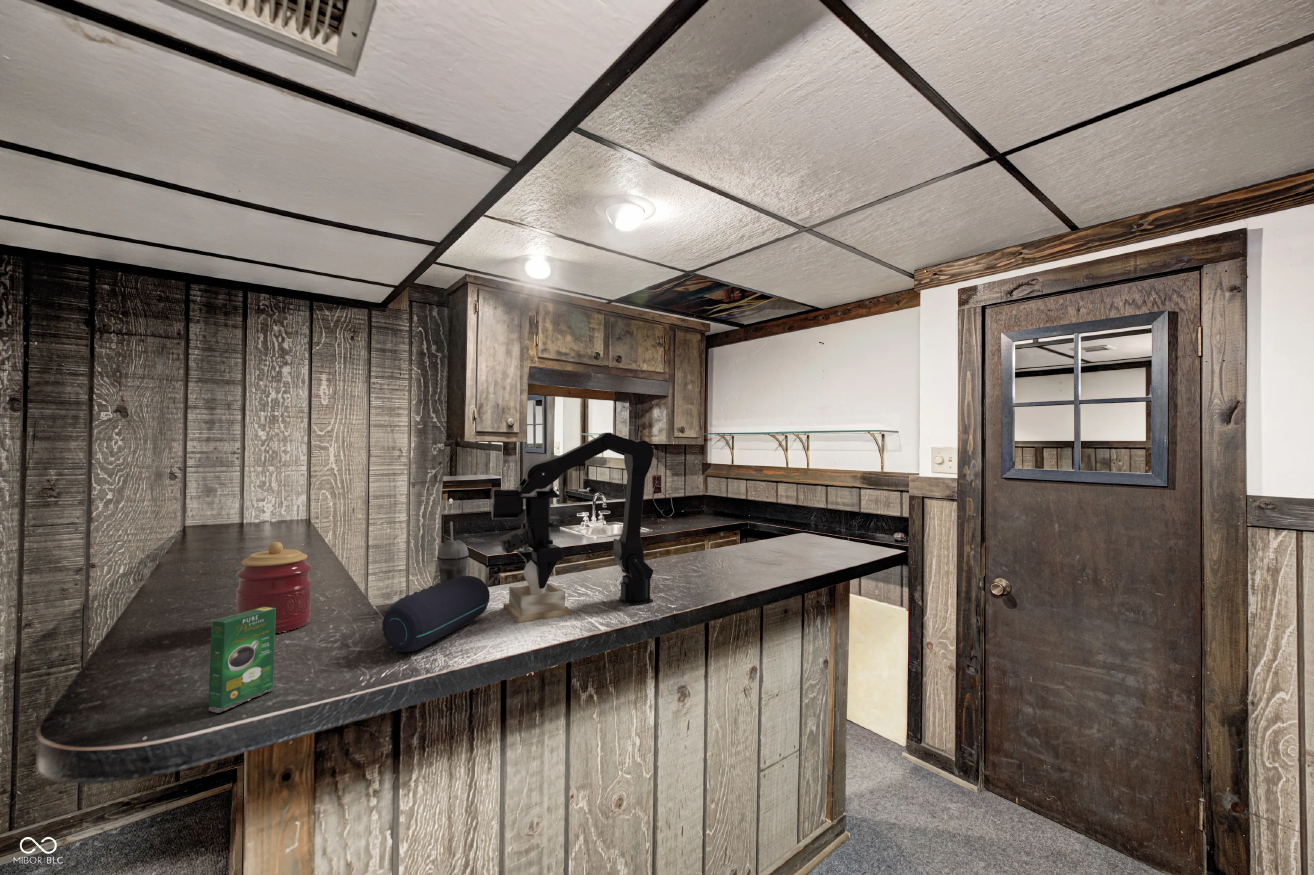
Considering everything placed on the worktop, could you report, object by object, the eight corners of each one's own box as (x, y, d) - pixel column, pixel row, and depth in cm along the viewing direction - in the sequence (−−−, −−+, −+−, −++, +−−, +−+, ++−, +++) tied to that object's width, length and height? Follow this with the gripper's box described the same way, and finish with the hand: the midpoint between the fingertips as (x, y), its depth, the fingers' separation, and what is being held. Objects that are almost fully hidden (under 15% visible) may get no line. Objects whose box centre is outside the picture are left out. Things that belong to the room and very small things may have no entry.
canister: (324, 622, 117) (326, 539, 117) (259, 642, 105) (260, 550, 105) (287, 613, 122) (288, 534, 122) (220, 631, 110) (222, 544, 111)
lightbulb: (556, 605, 127) (556, 557, 127) (538, 612, 122) (538, 562, 122) (536, 601, 130) (536, 555, 130) (518, 607, 125) (518, 559, 125)
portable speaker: (455, 614, 123) (456, 570, 123) (494, 618, 121) (495, 573, 121) (370, 655, 99) (371, 600, 99) (417, 662, 96) (418, 605, 97)
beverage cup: (473, 601, 133) (474, 519, 133) (460, 610, 126) (461, 523, 126) (445, 600, 134) (446, 518, 134) (430, 609, 126) (431, 522, 127)
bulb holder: (552, 600, 134) (552, 580, 134) (570, 614, 124) (570, 592, 124) (503, 607, 128) (503, 586, 128) (518, 622, 118) (518, 599, 118)
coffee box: (262, 688, 86) (263, 604, 86) (275, 690, 85) (277, 606, 85) (206, 712, 78) (208, 620, 78) (221, 715, 77) (222, 622, 77)
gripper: (492, 514, 130) (491, 580, 130) (514, 525, 114) (514, 600, 114) (537, 512, 136) (537, 574, 136) (565, 521, 120) (564, 593, 119)
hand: (537, 585), depth 126 cm, fingers open, 6 cm apart
